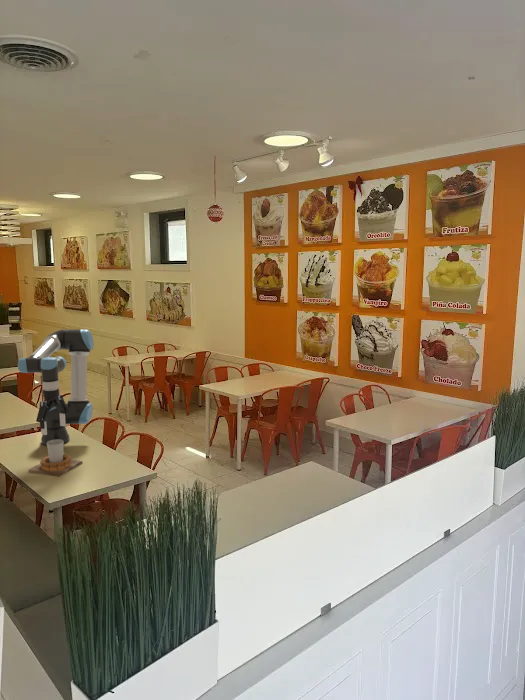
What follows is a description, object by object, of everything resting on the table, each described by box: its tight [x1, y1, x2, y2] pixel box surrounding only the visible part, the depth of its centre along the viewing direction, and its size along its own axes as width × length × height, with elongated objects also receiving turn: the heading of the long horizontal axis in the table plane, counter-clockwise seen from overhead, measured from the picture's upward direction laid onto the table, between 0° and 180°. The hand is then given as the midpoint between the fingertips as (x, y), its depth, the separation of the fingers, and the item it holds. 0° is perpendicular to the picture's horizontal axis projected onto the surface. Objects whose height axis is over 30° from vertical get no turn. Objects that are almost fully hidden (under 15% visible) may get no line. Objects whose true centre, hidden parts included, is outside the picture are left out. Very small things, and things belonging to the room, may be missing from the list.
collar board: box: [28, 453, 83, 477], centre depth 266 cm, size 18×18×4 cm
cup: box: [46, 439, 65, 463], centre depth 266 cm, size 8×8×12 cm
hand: (53, 430), depth 263 cm, fingers open, 13 cm apart
